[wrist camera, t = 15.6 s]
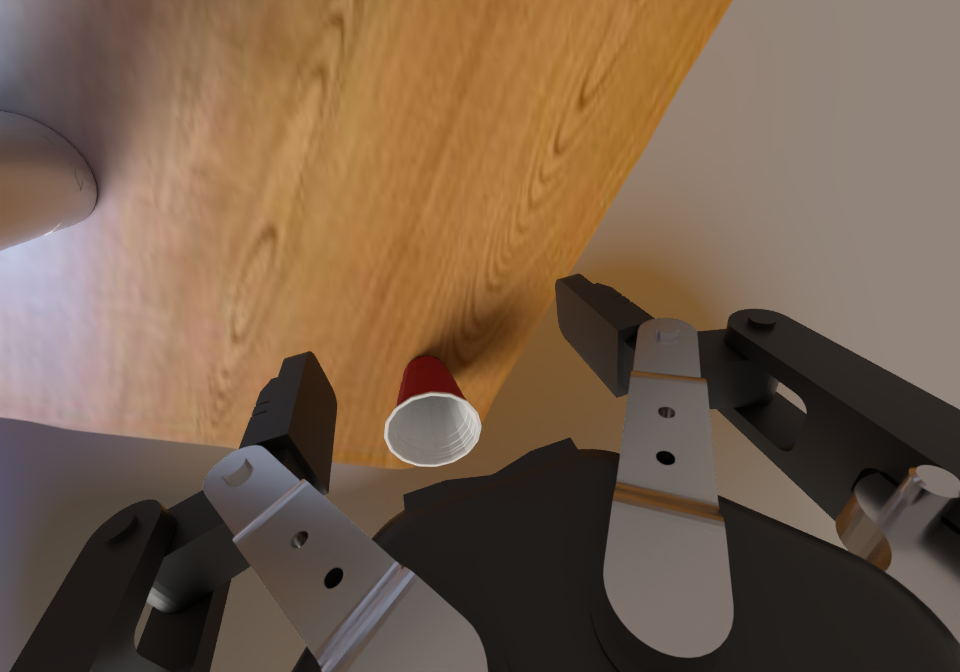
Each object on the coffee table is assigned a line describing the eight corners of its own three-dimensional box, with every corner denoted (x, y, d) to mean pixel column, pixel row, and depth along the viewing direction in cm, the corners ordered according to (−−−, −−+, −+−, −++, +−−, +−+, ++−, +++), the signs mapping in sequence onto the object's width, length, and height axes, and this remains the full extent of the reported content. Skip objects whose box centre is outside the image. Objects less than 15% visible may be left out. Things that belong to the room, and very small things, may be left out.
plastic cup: (396, 329, 48) (401, 387, 38) (473, 348, 52) (496, 405, 42) (373, 396, 52) (371, 464, 42) (446, 408, 56) (460, 473, 46)
